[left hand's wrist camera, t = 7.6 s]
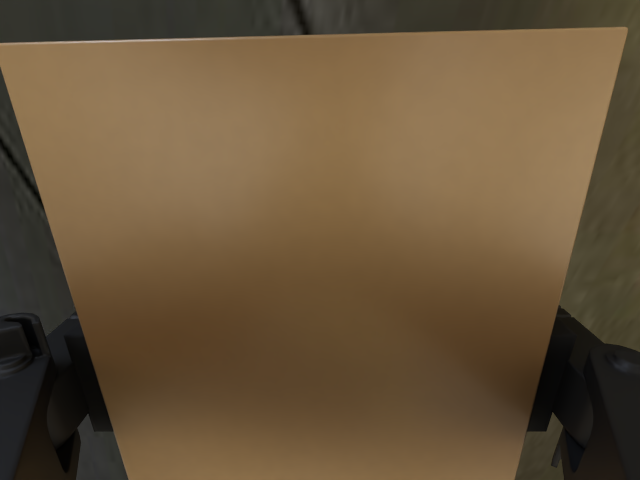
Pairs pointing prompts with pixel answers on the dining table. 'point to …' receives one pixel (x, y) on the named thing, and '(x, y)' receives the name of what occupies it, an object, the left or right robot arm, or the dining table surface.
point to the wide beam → (317, 239)
